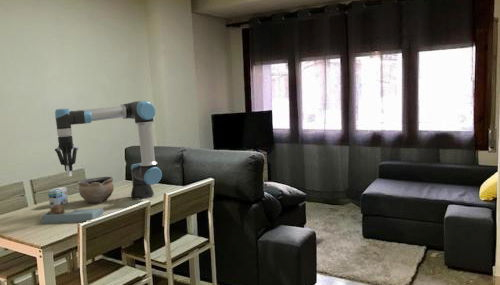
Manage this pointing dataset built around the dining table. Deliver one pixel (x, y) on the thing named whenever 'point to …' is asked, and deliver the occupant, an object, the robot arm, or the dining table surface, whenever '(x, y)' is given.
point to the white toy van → (58, 196)
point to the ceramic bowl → (96, 189)
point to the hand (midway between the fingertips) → (69, 176)
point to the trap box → (72, 216)
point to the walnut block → (57, 209)
